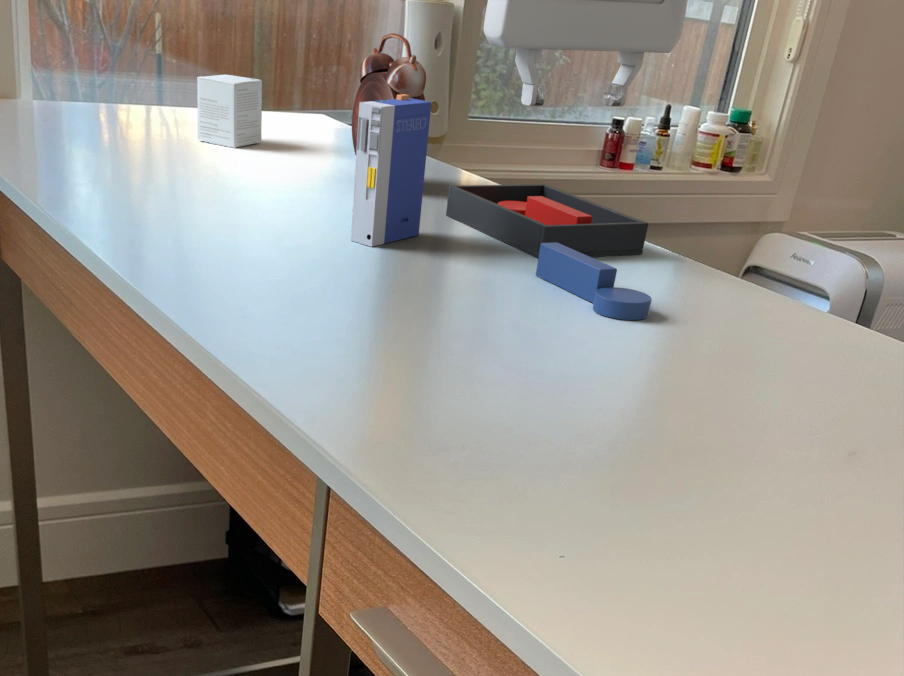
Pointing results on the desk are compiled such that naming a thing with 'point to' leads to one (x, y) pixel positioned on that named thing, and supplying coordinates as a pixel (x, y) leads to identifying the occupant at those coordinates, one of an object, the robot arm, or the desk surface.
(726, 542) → the desk surface
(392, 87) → the alarm clock
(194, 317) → the desk surface
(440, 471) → the desk surface
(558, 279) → the blue spoon
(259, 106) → the product box
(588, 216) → the red spoon
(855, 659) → the desk surface
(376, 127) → the walkman
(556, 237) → the tray
